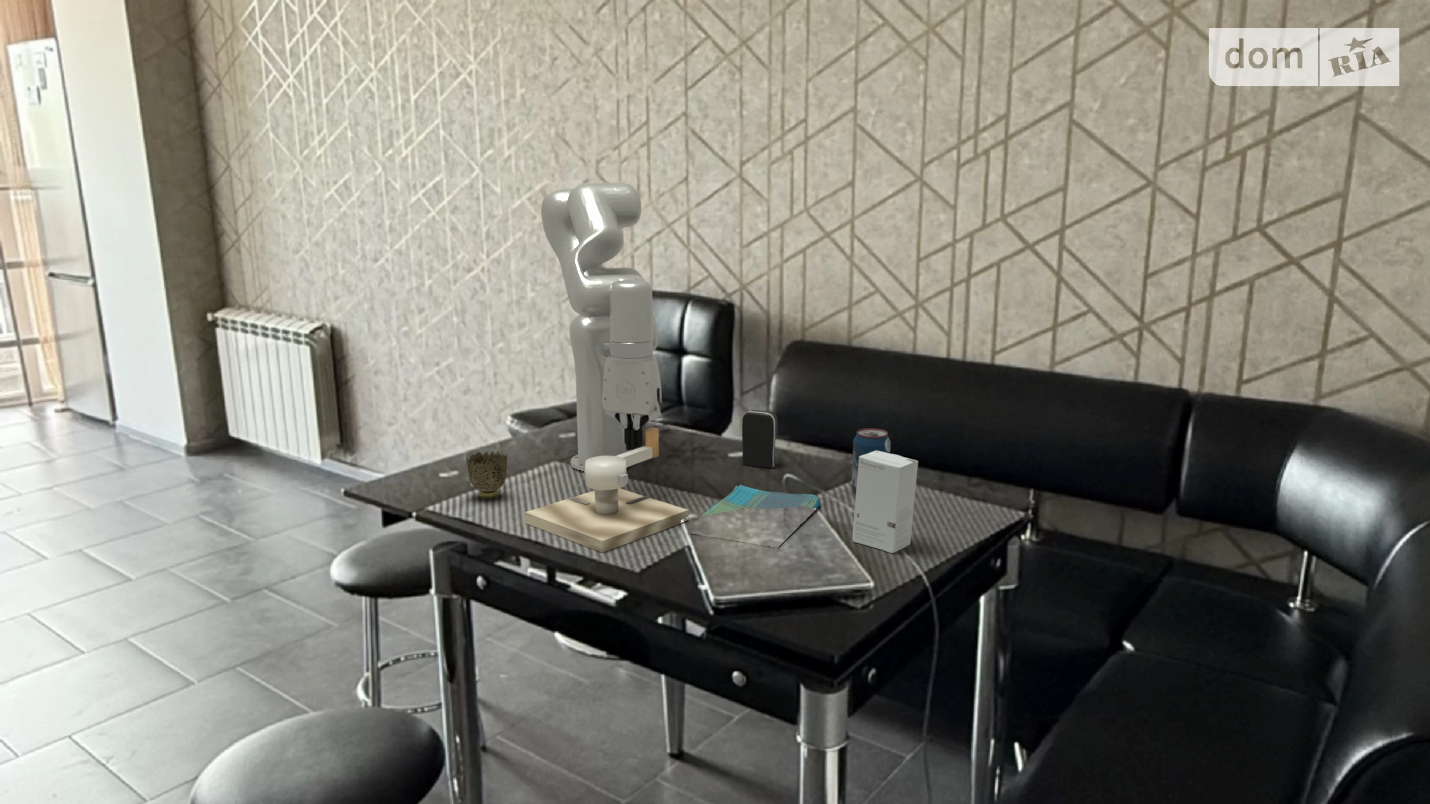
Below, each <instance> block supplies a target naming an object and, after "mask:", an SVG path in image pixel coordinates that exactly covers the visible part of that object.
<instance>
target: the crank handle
mask: <svg viewBox="0 0 1430 804" xmlns="http://www.w3.org/2000/svg"><path fill="white" fill-rule="evenodd" d="M659 433H660V432H659V428H658V427H647V428H645V429H644V436H645V437H644V439H645V443H644V445H643V446H641V447H640V448H637V449H634V450H630V451H629V452H626V453H623V454H620V455H617V456H597V457H592V458H589V459H587V460H586V461H585V468H584V472H583V474H584V477H585V486H586V487H587V488H588V489H593V490H595V489H596V490H613V489H618V488H620V489H622V488H623V487H625V486H626V485H627V484H629V474H628V473H627V468H626V467H628V466H630V467H631V466H633V465H636V464H639V463H643V462H645V461H647V460H650V459H653V458H658V457H659V456H660V455H659V454H660V450H659V449H660V448H659V447H660V446H659V443H660V442H659V441H660V440H659V439H660V438H659V436H660V435H659ZM628 468H629V467H628Z"/></svg>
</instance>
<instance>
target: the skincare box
mask: <svg viewBox="0 0 1430 804" xmlns="http://www.w3.org/2000/svg"><path fill="white" fill-rule="evenodd" d="M918 467H919V460H916V459H912V458H908V457H904V456H902V455H899V454H894V453H890V454H889V453H885V452H881V451H873V452H870V453H868V454H865V455H862V456H859V464H858V476H857V487H856V494H855V502H854V511H853V512H854V513H853V521H852V522H853V524H852V535H851V538H852V543H857V544H859V545H860V544H861V545H864V546H867V547H871V548H874V549H879V550H881V551H885V552H887V553H891V554H894V553H897V552H898V551H900V550H902V549H904V548H907V547H908V546H910V545H911V539H912V531H913V530H912V529H913V519H914V509H915V499H916V490H917V489H916V487H917V479H918V478H917V476H918ZM907 545H908V546H907Z"/></svg>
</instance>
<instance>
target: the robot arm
mask: <svg viewBox="0 0 1430 804" xmlns="http://www.w3.org/2000/svg"><path fill="white" fill-rule="evenodd" d="M641 215H642V202H641V198H640V195H639V193H638V191H637V189H635V187H634V186H633V185H631V184H630V183H626V182H617V183H616V182H610V183H609V182H608V183H607V182H606V183H604V182H603V183H601V182H599V183H598V182H597V183H593V182H592V183H584V184H580V185H577V186H575V187H574V188H567V189H566V188H565V189H558V190H554V191H552V192H549V193H548V194H546V196H544V197H543V199H542V202H541V205H540V217H541V223H542V227H543V232H544V235H545V237H546V239H547V241H548V244H549V245H550V247H551V249H552V251H553V252H554V253H555V256H556V258H557V259H558V262H559V264H560V268H561V272H562V278H563V281H564V285H565V289H566V294H567V298H568V301H569V304H570V307H571V309H572V310H573V311H574V312H575V313H577V314H578V315H577V316H575V317H574V318H573V320H572V321H571V323H570V326H569V337H570V338H569V339H570V343H571V344H570V345H571V349H572V350H571V351H572V355H573V363H574V372H575V373H574V374H575V394H576V396H575V397H576V425H577V426H576V427H577V428H576V429H577V454H576V455H574V456H572V457H571V459H570V466H571V467H572V469H574V468H575V469H574V470H576V469H577V471H579V470H581V471H580V472H583V471H584V468H585V461H586V460H587V459H589V458H592V457H597V456H617V455H620V454H623V453H626V452H629V451H631V450H634V449H637V448H640V447H642V445H643V442H644V440H643V439H644V437H643V436H644V435H643V434H644V432H643V429H644V428H643V427H644V426H646V425H647V424H648V422H652V421H653V422H654V421H656V420H657V421H658V420H660V419H661V418H662V413H661V407H662V402H663V401H662V399H663V398H662V394H663V393H662V381H661V375H660V368H659V364H658V360H657V357H656V356H654V352H655V351H656V349H657V347H658V344H659V342H658V341H659V334H658V327H657V323H656V319H655V314H654V311H653V288H652V285H651V283H649V282H648V281H646V279H644V277H643V276H642V274H641V273H640V272H639V271H638V270H636V269H634V268H633V267H632V268H631V267H606V266H604V263H607V262H608V261H610V260H612V259H613V258H615V257H616V256H618V254H619V253H620V252H621V251H622V249H623V246H624V235H623V233H622V229H623V228H629V227H633V226H635V225H636V224H637V223H638V222H639V220H640V218H641ZM633 416H634V417H633ZM630 467H631V466H628V467H626V469H628V468H630Z"/></svg>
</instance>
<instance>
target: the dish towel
mask: <svg viewBox="0 0 1430 804" xmlns="http://www.w3.org/2000/svg"><path fill="white" fill-rule="evenodd" d="M797 506H807V507H810V508H817V509H818V508H819V507H820V506H821V499H820V497H818V496H817V494H808V493H789V492H781V491H780V492H779V491H767V490H761V489H755V488H753V487H749V486H746V485H742V484H739V486H738V485H735V487H734V488H733V490H732V492H730V493H729V494H727V496H725V497H724V498H722V499H721V500H719V501H718V502H716V503H715V504H714V505H713V506H712V507H710V508H709V509H708V510H707V511H705V512H704V513H703V514H701V516H704V515H712V514H717V513H721V512H725V511H736V510H739V509H742V508H744V509H771V508H790V507H797Z"/></svg>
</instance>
